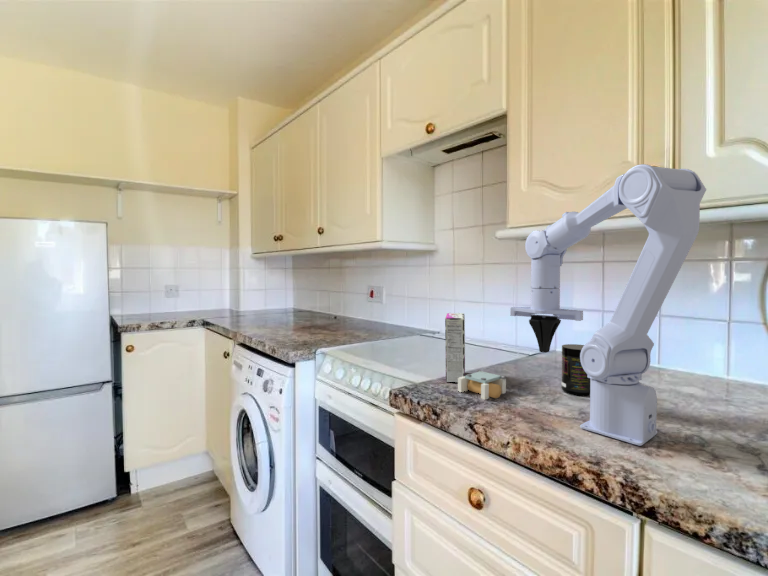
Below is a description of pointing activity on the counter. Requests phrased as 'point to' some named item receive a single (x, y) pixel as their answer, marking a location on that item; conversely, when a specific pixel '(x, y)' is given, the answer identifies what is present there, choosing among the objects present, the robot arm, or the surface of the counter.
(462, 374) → the candy bar box
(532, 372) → the counter surface
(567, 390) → the supplement container
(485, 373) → the cover flap
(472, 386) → the tan cylinder roller
